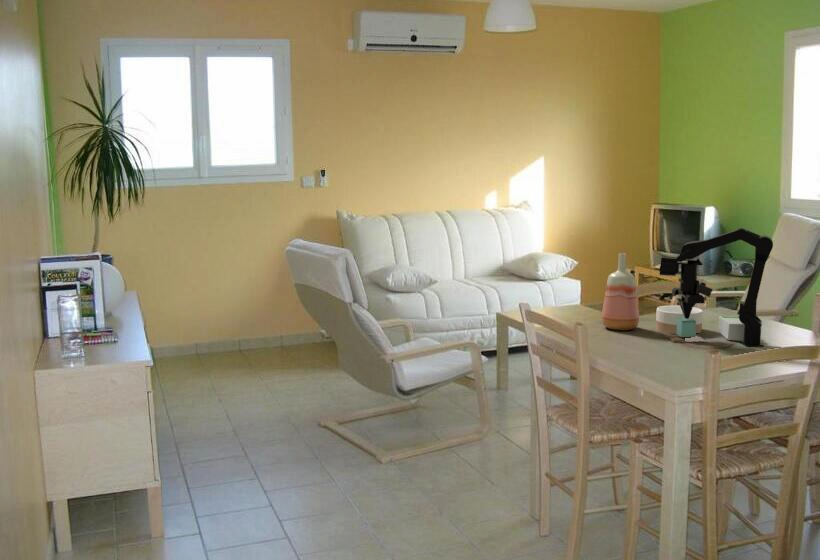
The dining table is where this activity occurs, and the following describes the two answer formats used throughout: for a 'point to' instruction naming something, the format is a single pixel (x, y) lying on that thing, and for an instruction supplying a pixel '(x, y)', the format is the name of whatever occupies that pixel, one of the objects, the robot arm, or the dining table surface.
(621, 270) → the vase
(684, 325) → the teal tilted box
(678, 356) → the dining table surface
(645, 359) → the dining table surface
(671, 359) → the dining table surface
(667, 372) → the dining table surface
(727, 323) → the skincare box
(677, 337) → the post block
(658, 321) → the bowl
